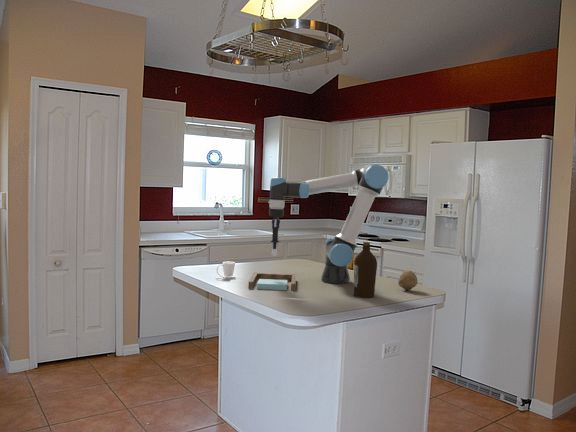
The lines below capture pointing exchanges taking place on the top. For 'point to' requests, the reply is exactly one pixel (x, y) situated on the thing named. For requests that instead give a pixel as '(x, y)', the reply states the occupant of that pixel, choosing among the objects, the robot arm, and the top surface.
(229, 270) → the cup
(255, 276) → the walnut box
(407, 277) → the natural sponge
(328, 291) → the top surface
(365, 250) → the olive oil
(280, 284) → the cover plate
